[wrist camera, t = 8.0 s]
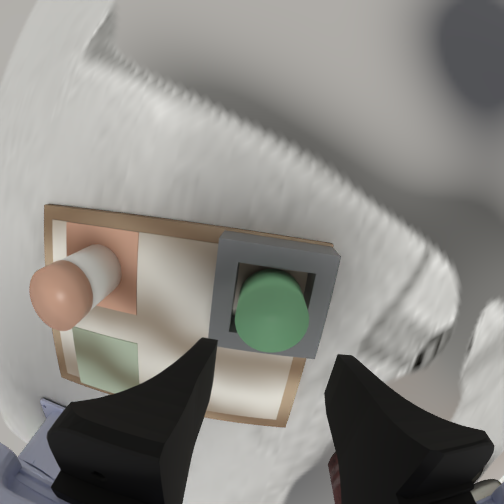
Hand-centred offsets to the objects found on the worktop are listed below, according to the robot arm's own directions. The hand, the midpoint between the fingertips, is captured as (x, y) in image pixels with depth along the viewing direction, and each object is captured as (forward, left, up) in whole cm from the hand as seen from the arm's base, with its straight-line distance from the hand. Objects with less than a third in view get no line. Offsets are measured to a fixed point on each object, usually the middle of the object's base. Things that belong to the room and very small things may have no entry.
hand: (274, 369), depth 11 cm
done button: (0, 0, -7) cm, 7 cm away
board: (-4, +7, -9) cm, 13 cm away
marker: (0, +12, -9) cm, 15 cm away
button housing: (0, 0, -9) cm, 9 cm away
